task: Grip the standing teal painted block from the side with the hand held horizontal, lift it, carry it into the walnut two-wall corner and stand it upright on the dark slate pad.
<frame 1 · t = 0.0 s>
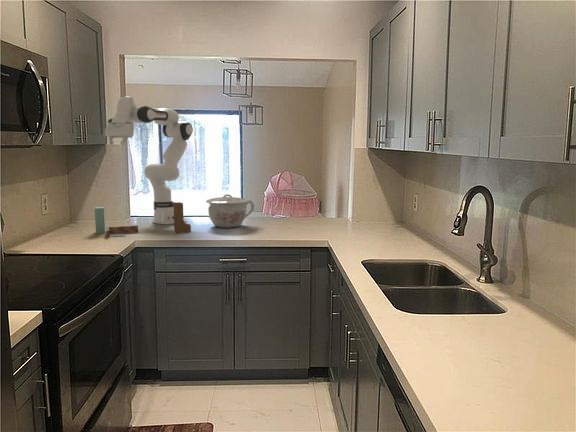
hand: (116, 144, 286), 52 cm above the worktop, tool tilted 20°, fingers open, 8 cm apart
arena: (119, 234, 282), on the worktop
chamber pot: (228, 226, 313), on the worktop
wooden block: (182, 232, 292), on the worktop
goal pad: (117, 235, 280), on the worktop
painted block: (100, 232, 288), on the worktop
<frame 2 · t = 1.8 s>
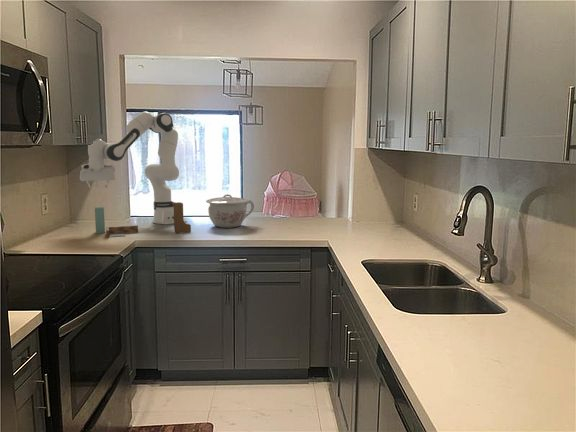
hand: (98, 188, 300), 25 cm above the worktop, tool pointing down, fingers open, 8 cm apart
nothing on the worktop moved.
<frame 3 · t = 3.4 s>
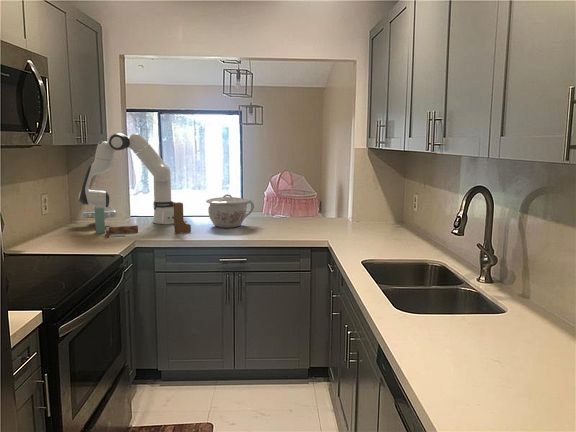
hand: (99, 216, 298), 8 cm above the worktop, tool horizontal, fingers open, 8 cm apart
nothing on the worktop moved.
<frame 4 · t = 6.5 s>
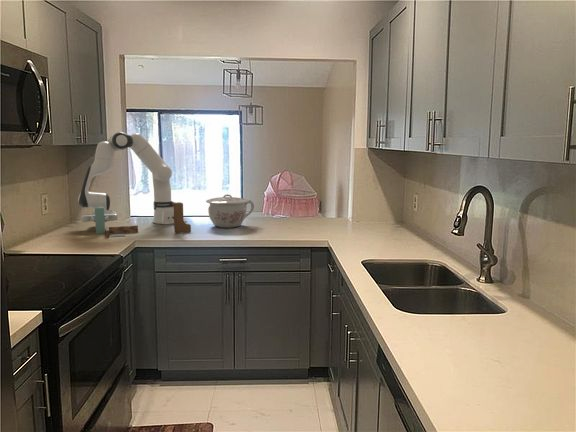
hand: (99, 219, 286), 8 cm above the worktop, tool horizontal, fingers closed on painted block, 5 cm apart
painted block: (100, 232, 288), on the worktop, touching gripper
everything else where it was.
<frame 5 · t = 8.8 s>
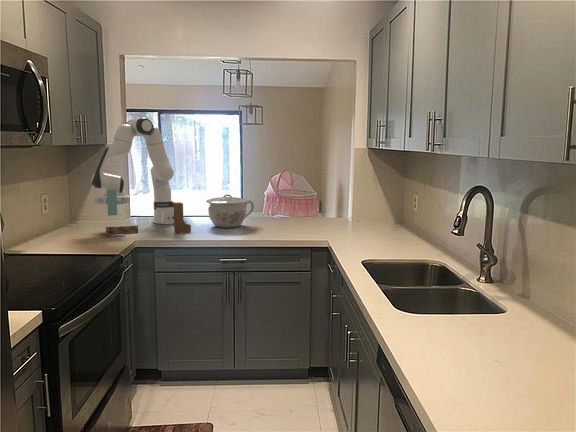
hand: (111, 201, 278), 20 cm above the worktop, tool horizontal, fingers closed on painted block, 5 cm apart
painted block: (112, 214, 280), point 12 cm above the worktop, touching gripper
everything else where it was.
when the fingers open (10 cm above the worktop, at t = 11.4 s): painted block drops 1 cm, resting on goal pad.
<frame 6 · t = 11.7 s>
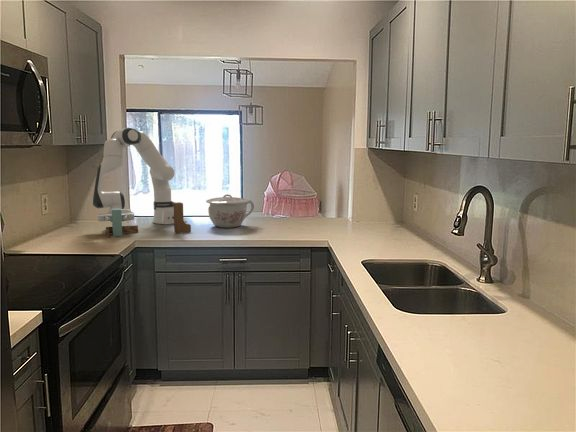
hand: (116, 219, 278), 10 cm above the worktop, tool horizontal, fingers open, 7 cm apart
painted block: (117, 234, 280), resting on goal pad
everything else where it was.
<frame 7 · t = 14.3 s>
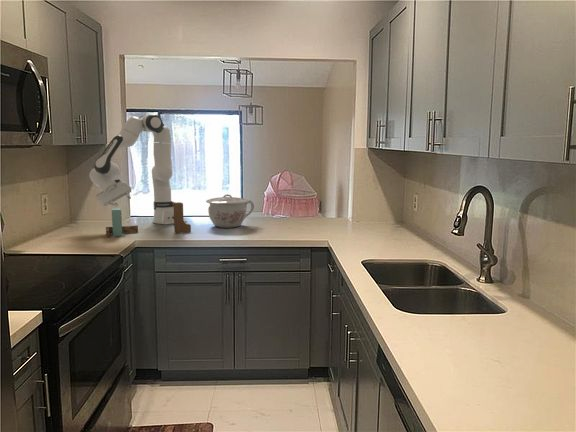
hand: (123, 202, 295), 17 cm above the worktop, tool tilted 55°, fingers open, 8 cm apart
nothing on the worktop moved.
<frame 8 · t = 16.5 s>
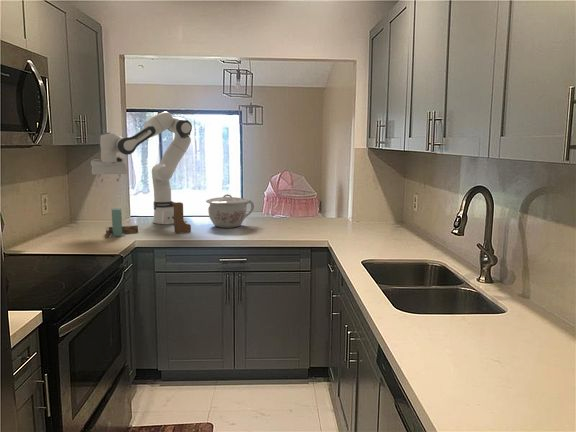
hand: (109, 181, 298), 29 cm above the worktop, tool pointing down, fingers open, 8 cm apart
nothing on the worktop moved.
at the end: painted block inside the target area (0.0 cm from its centre), resting on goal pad; painted block tilted 0°; the gripper is holding nothing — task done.
